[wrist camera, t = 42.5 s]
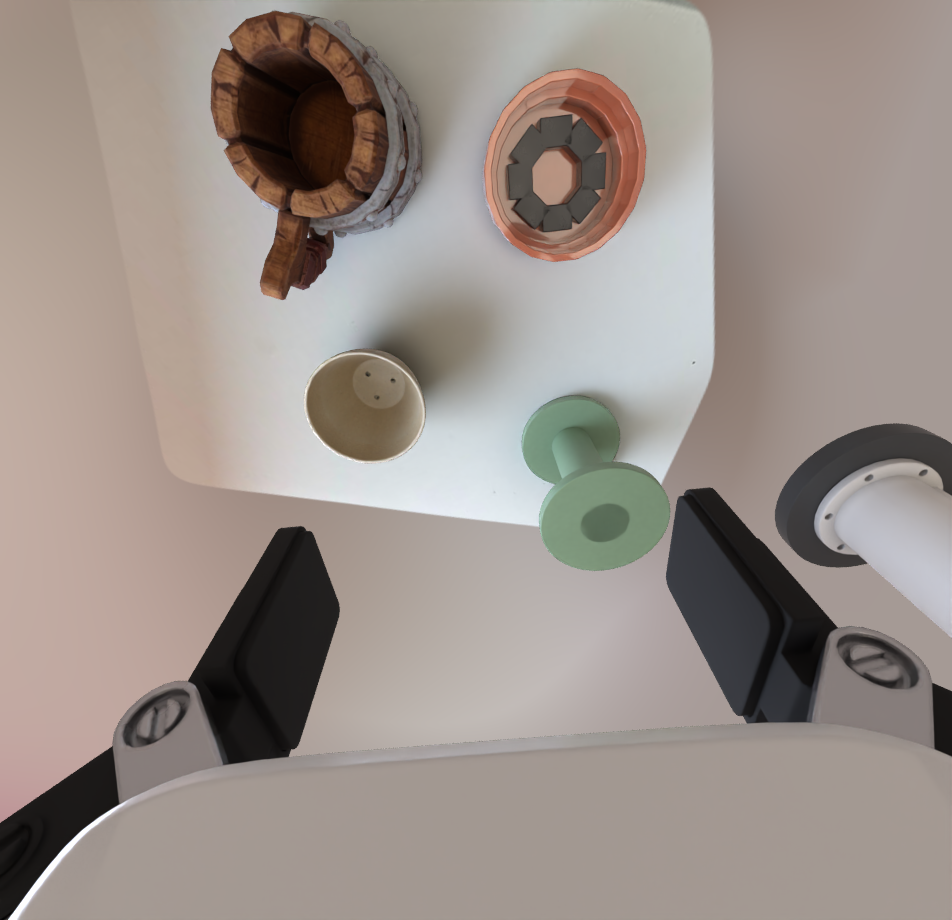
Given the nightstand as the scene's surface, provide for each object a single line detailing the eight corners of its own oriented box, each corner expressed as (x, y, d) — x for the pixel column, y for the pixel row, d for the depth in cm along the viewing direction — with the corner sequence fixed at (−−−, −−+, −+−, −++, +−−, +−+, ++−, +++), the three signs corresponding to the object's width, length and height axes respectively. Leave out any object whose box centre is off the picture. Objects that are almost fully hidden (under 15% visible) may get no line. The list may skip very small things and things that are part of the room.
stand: (619, 390, 44) (678, 461, 32) (614, 475, 49) (663, 565, 36) (518, 401, 44) (538, 475, 32) (524, 484, 49) (542, 576, 37)
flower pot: (449, 404, 44) (446, 437, 38) (364, 442, 46) (347, 479, 40) (398, 310, 39) (385, 330, 33) (306, 357, 42) (278, 384, 35)
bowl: (627, 78, 32) (653, 57, 27) (619, 246, 37) (639, 252, 33) (475, 98, 32) (476, 81, 28) (489, 261, 38) (492, 269, 33)
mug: (449, 69, 31) (420, 53, 20) (405, 269, 40) (366, 340, 28) (279, -6, 29) (134, -73, 18) (272, 222, 38) (172, 278, 26)
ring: (601, 113, 32) (608, 109, 31) (598, 224, 36) (603, 225, 34) (503, 126, 33) (505, 122, 31) (509, 235, 36) (511, 236, 35)
